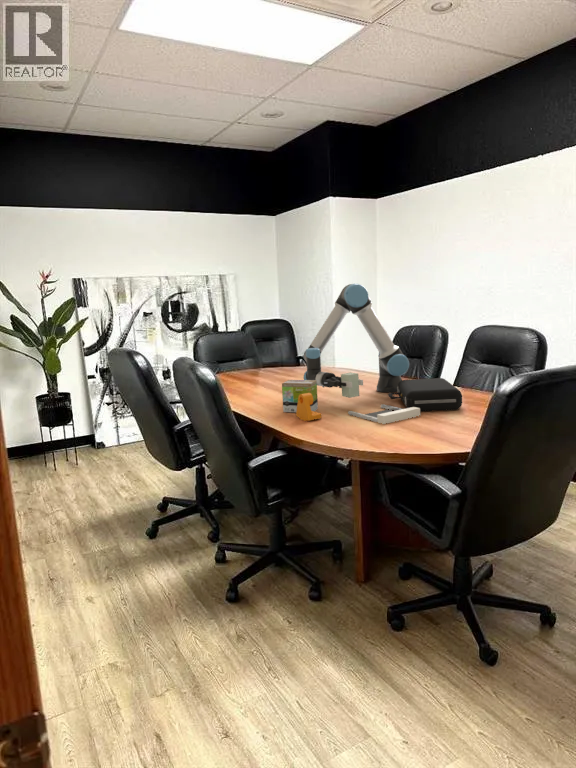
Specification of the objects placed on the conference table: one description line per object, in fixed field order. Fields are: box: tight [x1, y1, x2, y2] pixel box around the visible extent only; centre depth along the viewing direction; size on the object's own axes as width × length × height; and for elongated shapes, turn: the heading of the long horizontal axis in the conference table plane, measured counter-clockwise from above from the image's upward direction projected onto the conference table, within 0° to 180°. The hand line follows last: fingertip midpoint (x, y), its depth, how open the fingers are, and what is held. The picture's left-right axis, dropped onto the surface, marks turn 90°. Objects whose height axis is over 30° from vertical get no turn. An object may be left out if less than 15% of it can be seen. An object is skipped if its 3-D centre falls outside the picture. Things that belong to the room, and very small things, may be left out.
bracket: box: [295, 393, 322, 422], centre depth 247 cm, size 11×7×12 cm, turn 29°
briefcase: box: [387, 377, 463, 412], centre depth 264 cm, size 36×32×10 cm
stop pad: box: [365, 409, 392, 418], centre depth 245 cm, size 16×15×1 cm
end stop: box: [376, 407, 421, 425], centre depth 237 cm, size 21×4×4 cm, turn 121°
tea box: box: [281, 379, 319, 413], centre depth 264 cm, size 15×10×15 cm
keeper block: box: [340, 371, 360, 398], centre depth 264 cm, size 6×6×11 cm
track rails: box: [347, 403, 403, 423], centre depth 247 cm, size 21×21×2 cm
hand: (357, 383), depth 260 cm, fingers closed on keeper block, 6 cm apart
